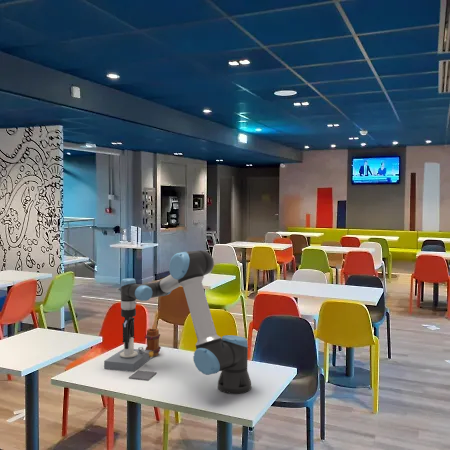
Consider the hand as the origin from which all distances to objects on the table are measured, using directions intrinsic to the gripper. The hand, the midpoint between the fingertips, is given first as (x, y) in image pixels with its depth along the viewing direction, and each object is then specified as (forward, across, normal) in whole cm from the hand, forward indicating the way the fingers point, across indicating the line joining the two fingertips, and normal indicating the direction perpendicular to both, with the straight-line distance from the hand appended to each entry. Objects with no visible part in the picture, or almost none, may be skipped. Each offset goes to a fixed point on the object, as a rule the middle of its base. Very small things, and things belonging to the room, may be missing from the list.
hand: (128, 352), depth 247 cm
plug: (+5, 0, 0) cm, 5 cm away
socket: (+5, 0, 0) cm, 5 cm away
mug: (+6, +17, -9) cm, 20 cm away
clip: (0, -1, -9) cm, 9 cm away
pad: (+6, -17, -12) cm, 22 cm away
